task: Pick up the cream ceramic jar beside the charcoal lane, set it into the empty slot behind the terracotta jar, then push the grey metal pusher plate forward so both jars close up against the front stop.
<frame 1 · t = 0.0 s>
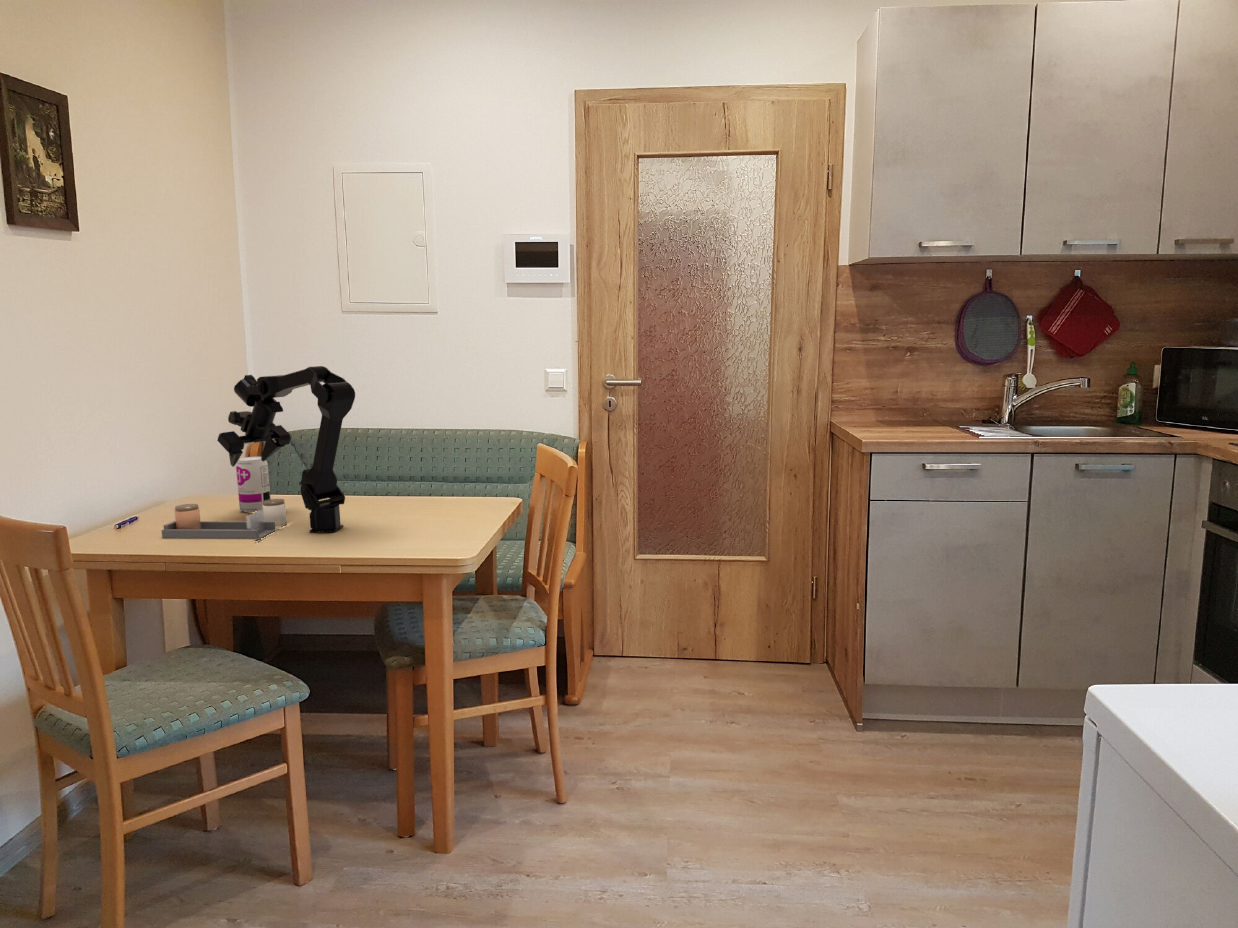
hand: (247, 463, 232), 15 cm above the table, tool tilted 35°, fingers open, 9 cm apart
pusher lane: (220, 537, 212), on the table
pusher plate: (255, 523, 210), point 4 cm above the table, slide at 0.0 cm
front jar: (189, 533, 212), point 1 cm above the table, touching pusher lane
supplement can: (255, 511, 242), on the table
cream jar: (275, 526, 222), on the table
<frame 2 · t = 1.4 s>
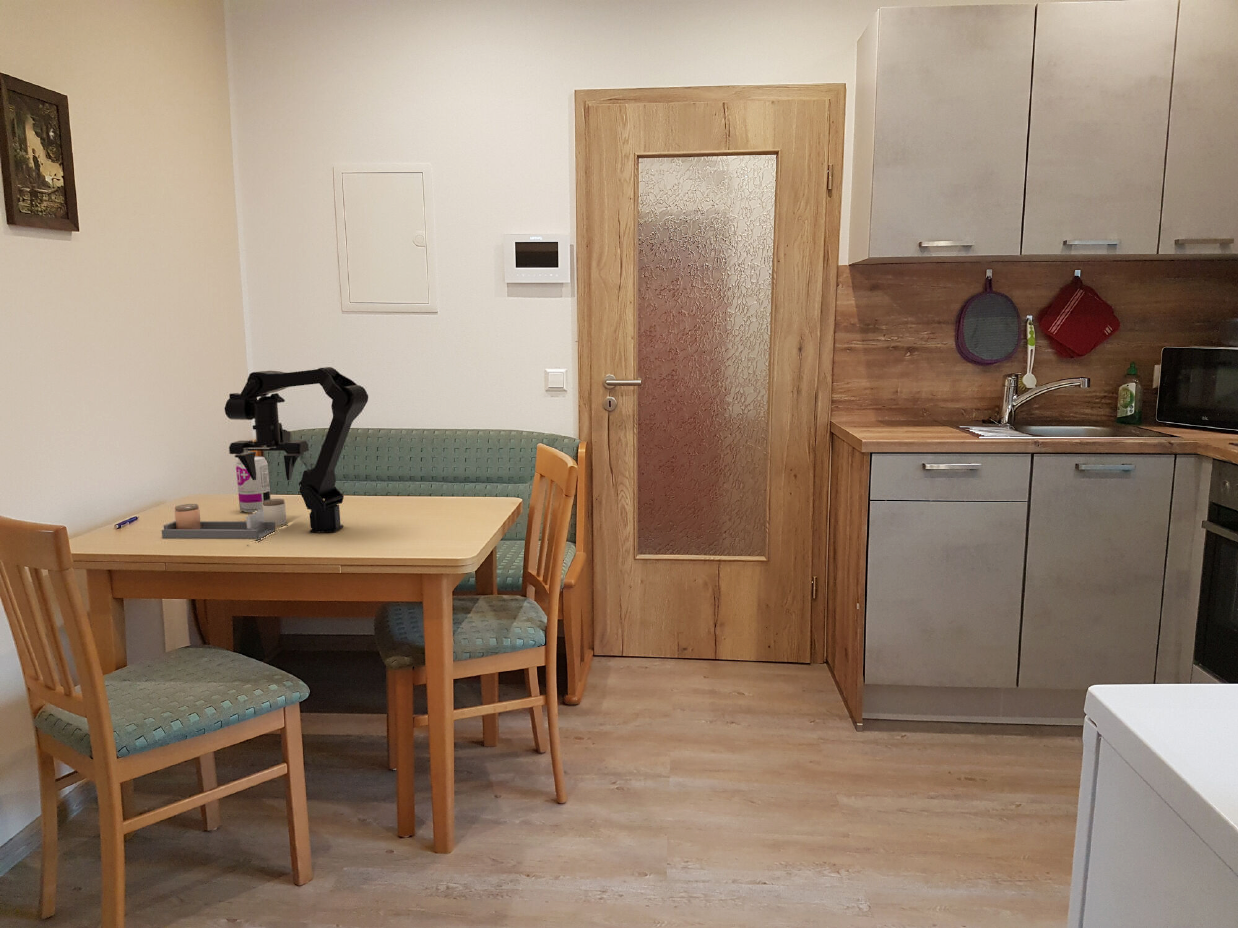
hand: (271, 480, 220), 12 cm above the table, tool pointing down, fingers open, 9 cm apart
nothing on the table moved.
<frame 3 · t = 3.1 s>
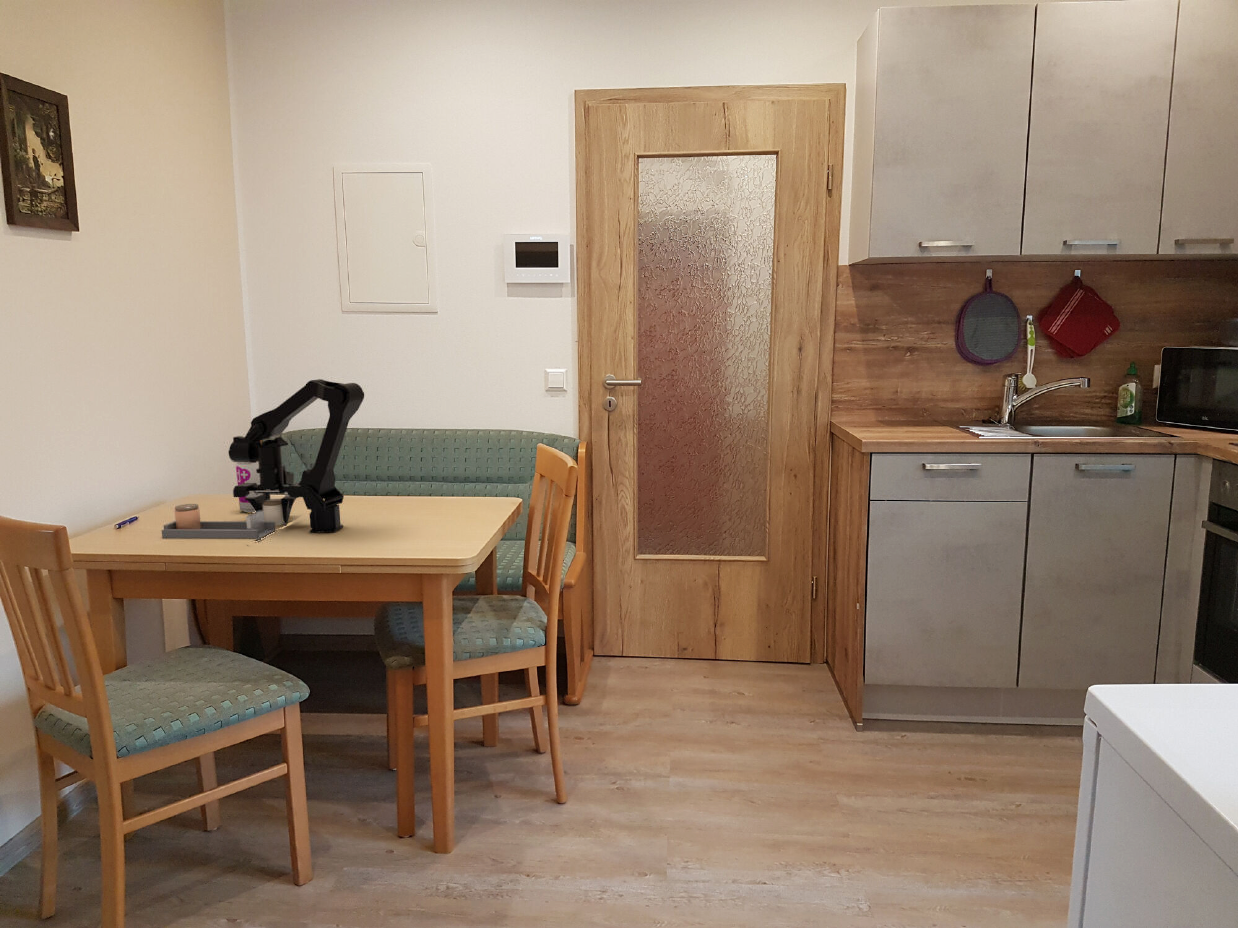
hand: (275, 522, 222), 1 cm above the table, tool pointing down, fingers closed on cream jar, 5 cm apart
cream jar: (275, 526, 222), on the table, touching gripper
everything else where it was.
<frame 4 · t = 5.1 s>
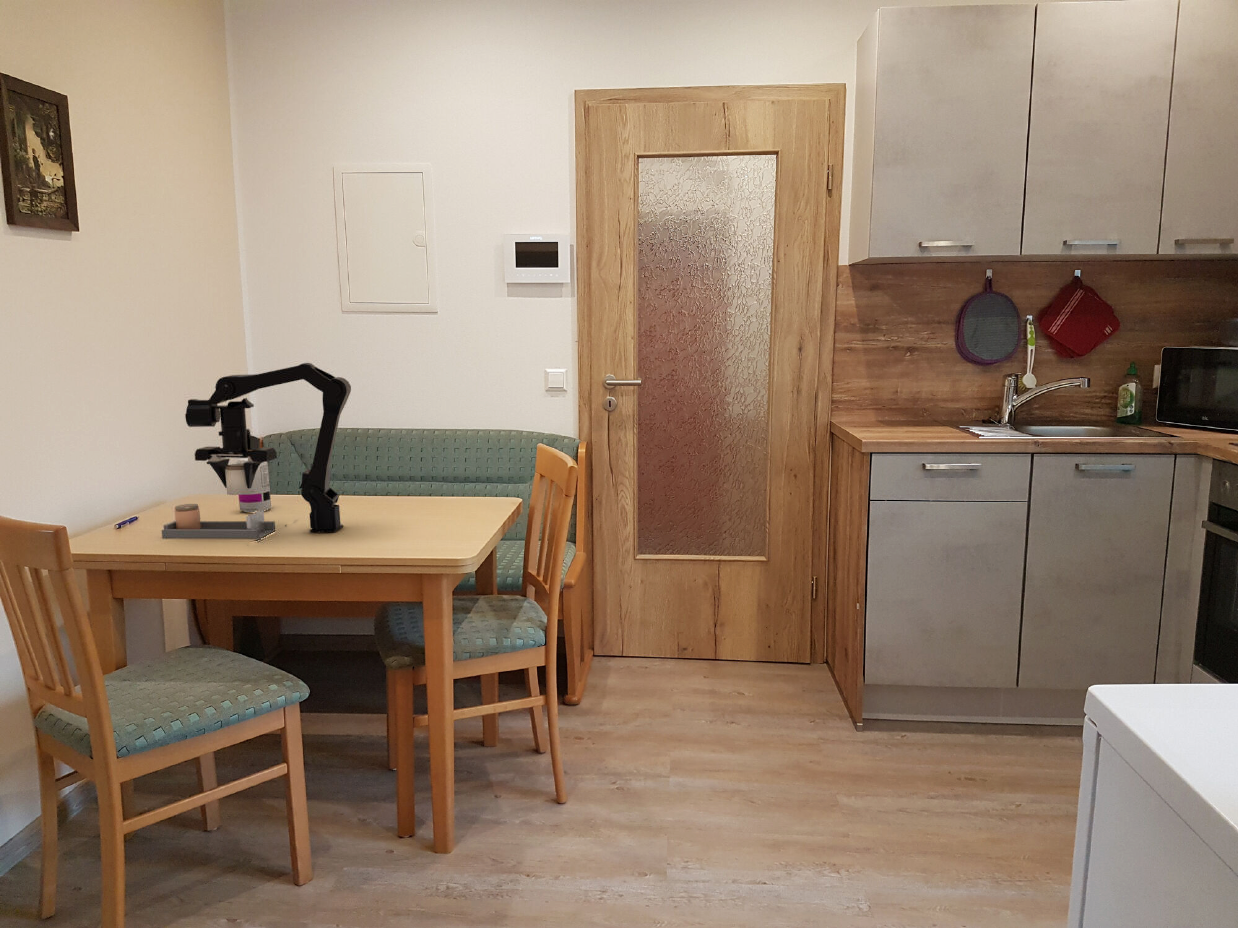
hand: (238, 488, 213), 12 cm above the table, tool pointing down, fingers closed on cream jar, 5 cm apart
cream jar: (239, 492, 213), point 11 cm above the table, touching gripper
everything else where it was.
when the fingers open (4 cm above the table, at t = 7.2 s): cream jar drops 2 cm, resting on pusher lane.
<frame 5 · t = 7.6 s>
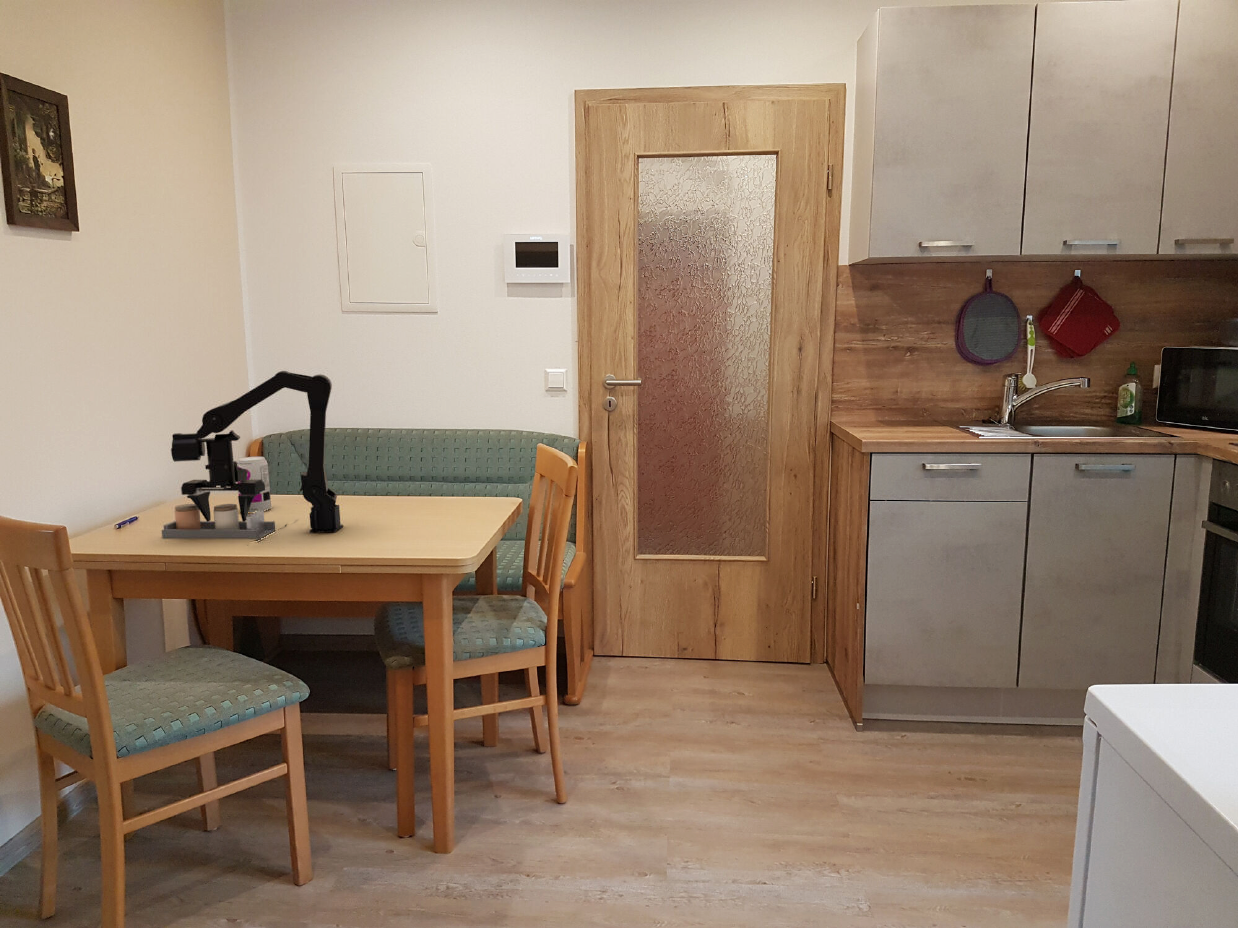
hand: (226, 521, 211), 4 cm above the table, tool pointing down, fingers open, 9 cm apart
cream jar: (227, 533, 211), point 1 cm above the table, touching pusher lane
everything else where it was.
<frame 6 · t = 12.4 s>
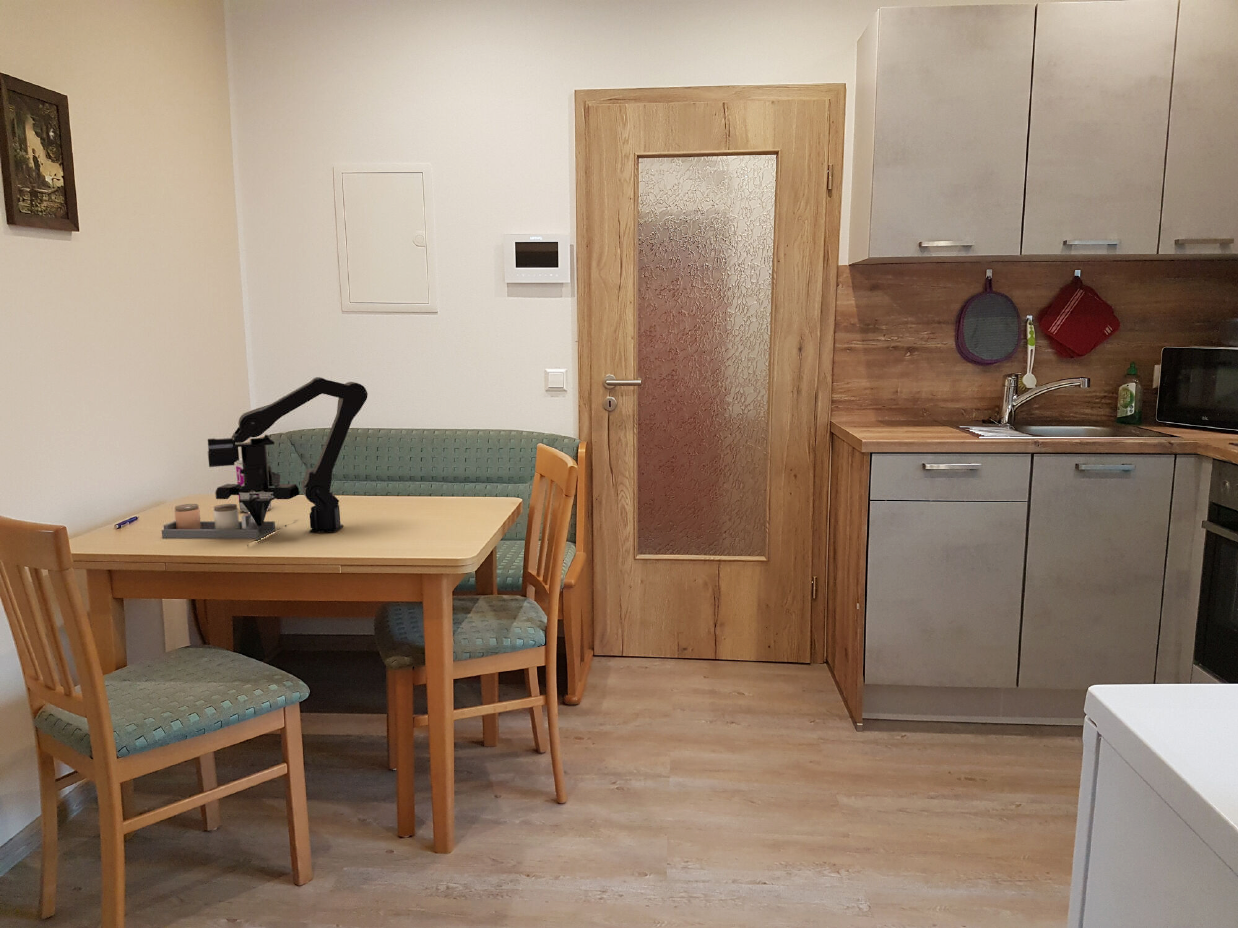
hand: (260, 525, 210), 3 cm above the table, tool pointing down, fingers closed
pusher plate: (250, 523, 210), point 4 cm above the table, slide at 1.2 cm, touching gripper
everything else where it was.
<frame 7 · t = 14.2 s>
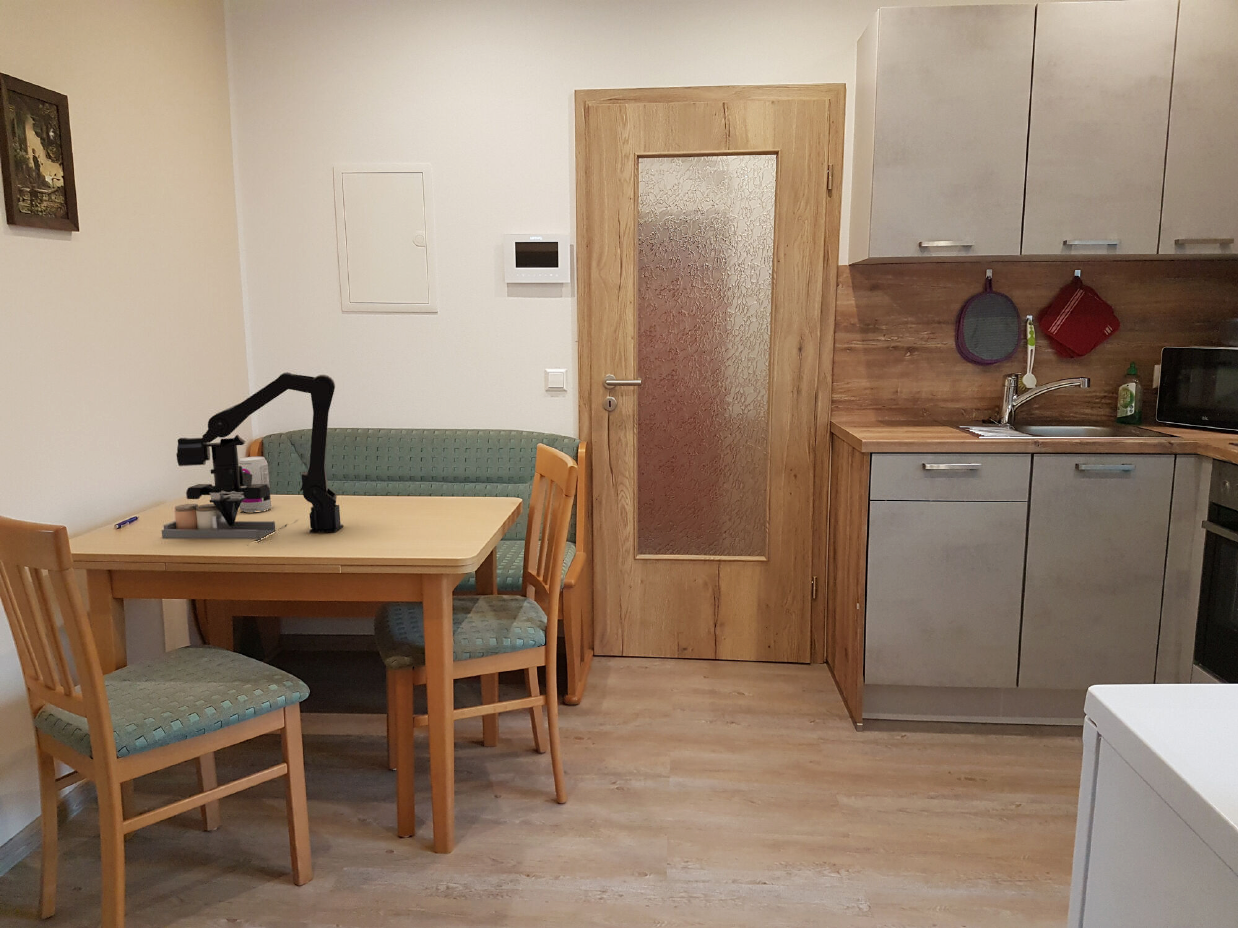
hand: (231, 525, 211), 3 cm above the table, tool pointing down, fingers closed
pusher plate: (222, 522, 211), point 4 cm above the table, slide at 8.7 cm, touching cream jar, gripper
front jar: (189, 533, 212), point 1 cm above the table, touching cream jar, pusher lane
cream jar: (210, 533, 212), point 1 cm above the table, touching front jar, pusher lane, pusher plate
everything else where it was.
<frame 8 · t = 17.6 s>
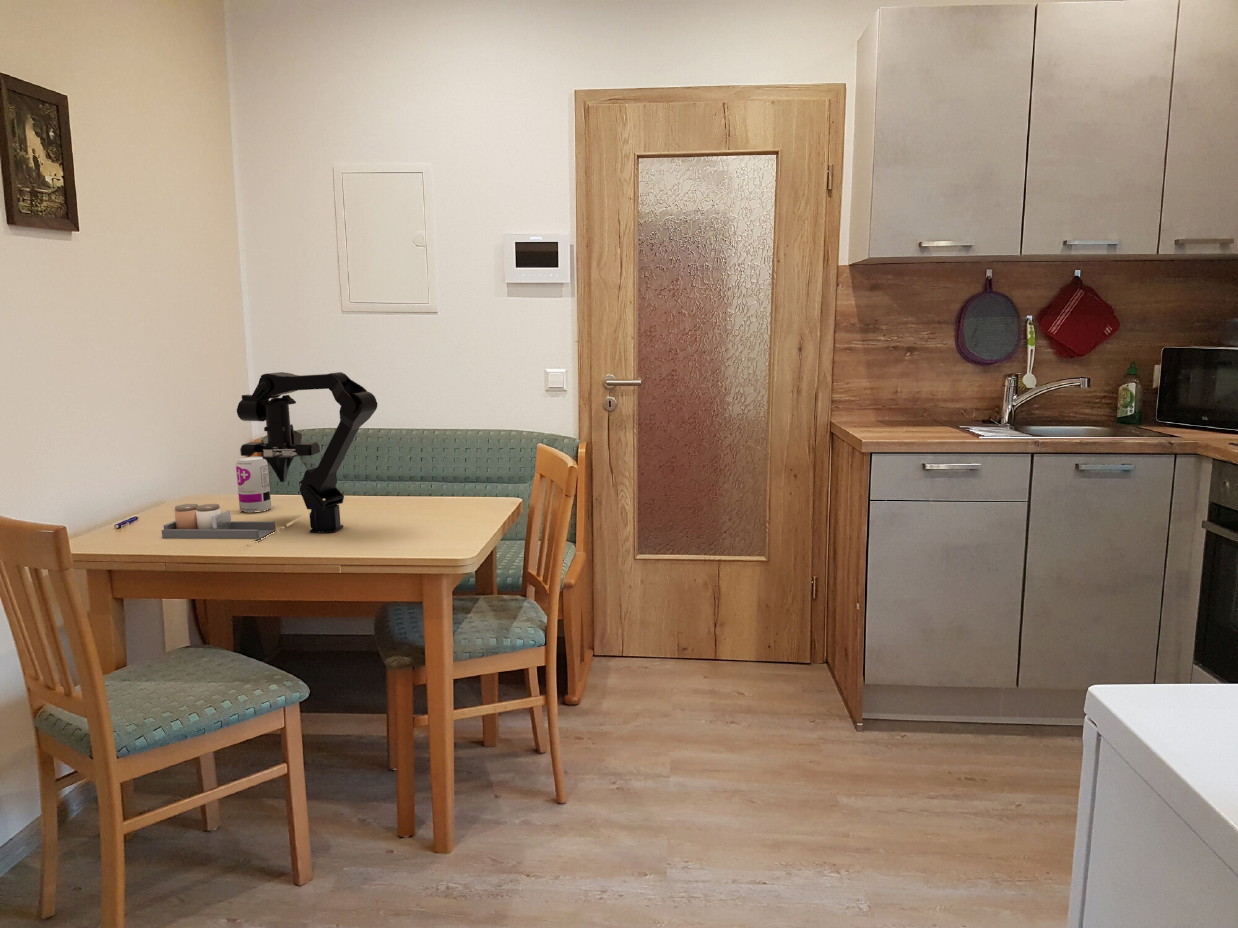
hand: (283, 481, 220), 12 cm above the table, tool pointing down, fingers closed
pusher plate: (222, 522, 211), point 4 cm above the table, slide at 8.7 cm
cream jar: (210, 533, 212), point 1 cm above the table, touching front jar, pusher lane
everything else where it was.
at the end: pusher plate slide at 8.7 cm; cream jar 0.4 cm from the target spot, point 1.0 cm above the table; cream jar tilted 0° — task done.
